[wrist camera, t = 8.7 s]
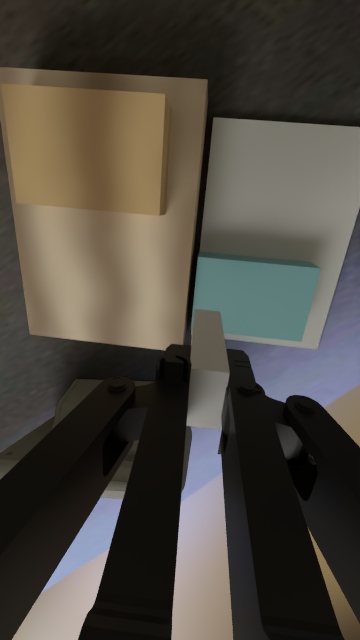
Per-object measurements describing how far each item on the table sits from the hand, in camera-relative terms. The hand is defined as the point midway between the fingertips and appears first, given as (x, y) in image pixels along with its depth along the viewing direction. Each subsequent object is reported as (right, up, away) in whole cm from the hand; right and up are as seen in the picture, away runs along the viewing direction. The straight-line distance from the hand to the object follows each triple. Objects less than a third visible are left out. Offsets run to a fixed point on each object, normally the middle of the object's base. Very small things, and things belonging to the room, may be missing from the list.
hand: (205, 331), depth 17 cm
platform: (-7, +8, +7) cm, 13 cm away
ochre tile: (-7, +11, +2) cm, 13 cm away
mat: (+6, +7, +6) cm, 11 cm away
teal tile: (+4, +3, +7) cm, 9 cm away
